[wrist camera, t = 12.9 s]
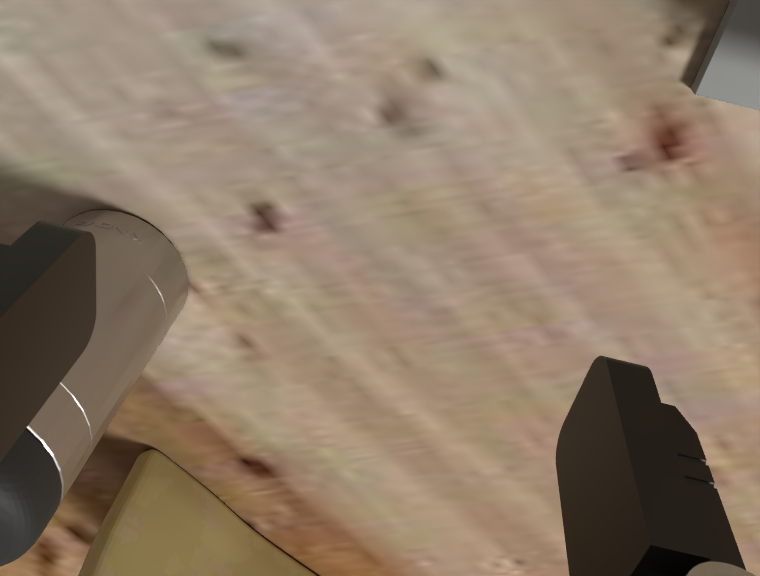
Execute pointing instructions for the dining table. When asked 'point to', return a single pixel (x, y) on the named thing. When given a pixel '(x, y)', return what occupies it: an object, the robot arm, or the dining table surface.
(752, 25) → the peg stand
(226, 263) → the dining table surface
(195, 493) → the cheese
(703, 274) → the dining table surface
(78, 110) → the dining table surface
